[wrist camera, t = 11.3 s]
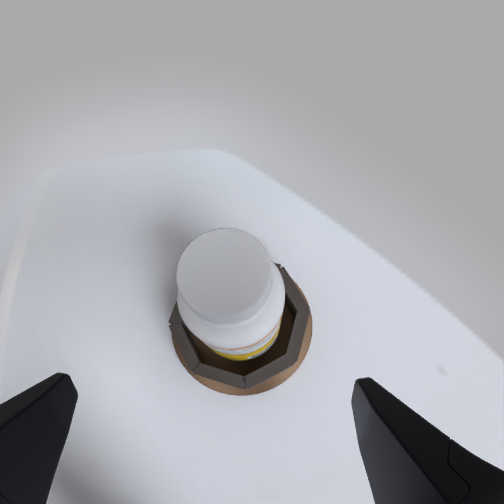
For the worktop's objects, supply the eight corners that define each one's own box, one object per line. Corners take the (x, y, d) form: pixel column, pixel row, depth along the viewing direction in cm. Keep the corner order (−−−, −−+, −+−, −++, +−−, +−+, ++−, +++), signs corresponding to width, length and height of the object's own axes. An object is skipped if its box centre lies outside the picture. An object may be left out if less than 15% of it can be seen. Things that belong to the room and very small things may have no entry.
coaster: (211, 418, 18) (204, 422, 16) (154, 299, 23) (142, 287, 20) (336, 350, 20) (345, 344, 18) (267, 242, 24) (267, 225, 22)
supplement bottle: (211, 283, 22) (178, 207, 14) (284, 293, 22) (296, 220, 13) (195, 354, 20) (143, 320, 11) (273, 368, 19) (280, 346, 11)
